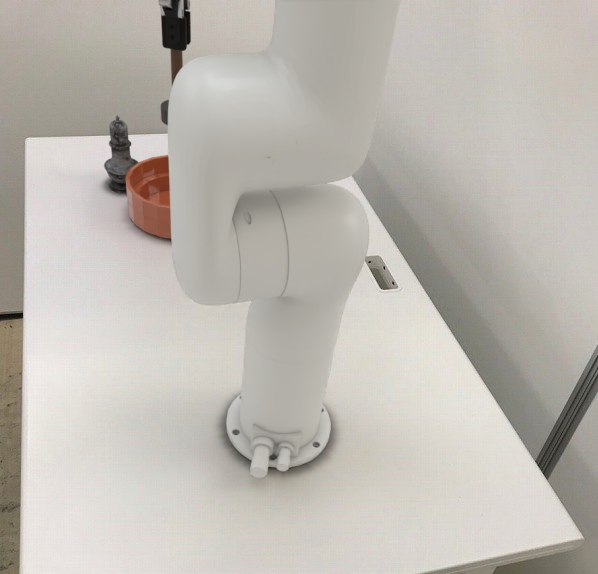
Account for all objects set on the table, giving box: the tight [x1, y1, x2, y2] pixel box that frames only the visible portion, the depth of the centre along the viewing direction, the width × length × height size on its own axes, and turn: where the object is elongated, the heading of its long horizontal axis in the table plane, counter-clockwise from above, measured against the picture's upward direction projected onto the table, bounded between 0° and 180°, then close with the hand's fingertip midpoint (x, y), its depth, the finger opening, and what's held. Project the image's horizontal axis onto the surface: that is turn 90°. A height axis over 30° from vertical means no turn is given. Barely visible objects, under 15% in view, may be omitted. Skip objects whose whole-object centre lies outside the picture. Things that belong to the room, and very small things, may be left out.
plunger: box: [160, 49, 184, 126], centre depth 89 cm, size 5×5×16 cm
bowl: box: [126, 154, 171, 239], centre depth 104 cm, size 16×16×6 cm
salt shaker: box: [103, 114, 140, 194], centre depth 105 cm, size 6×6×12 cm
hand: (176, 44), depth 87 cm, fingers closed on plunger
